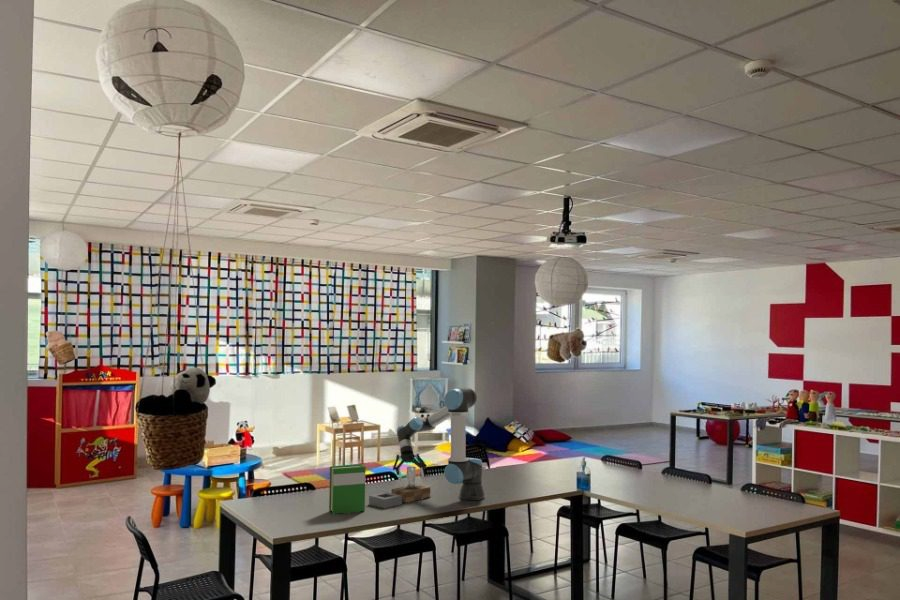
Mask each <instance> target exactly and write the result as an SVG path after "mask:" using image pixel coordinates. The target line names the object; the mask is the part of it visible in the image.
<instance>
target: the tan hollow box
mask: <svg viewBox="0 0 900 600" xmlns="http://www.w3.org/2000/svg"><path fill="white" fill-rule="evenodd" d="M391 493H392V494H396V495H401V496H402V503H403V502H408V503H411V502H410V501H412V502H415V501H414V500H417V501H419V500H418V499H421V500H423V499H422V498H426V497H430V498H431V486H426V485H421V484H416V483H415V489H412V490H410V489H407V485H404V486H401V487H396V488H395V487H394V488H391ZM426 499H427V498H426Z"/></svg>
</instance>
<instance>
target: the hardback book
mask: <svg viewBox="0 0 900 600" xmlns="http://www.w3.org/2000/svg"><path fill="white" fill-rule="evenodd" d="M328 500H329V503H328V504H329V505H328V507H329V509H328V512H329V511H332V512H331V515H332V514H336V515H338V514H337V513H346V514H350V513H349V512H356V513H361V512H360V511H365V512H366V507H365V506H366V466H365V465H363V464H345V465H334V466H329V499H328Z"/></svg>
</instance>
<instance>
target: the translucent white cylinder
mask: <svg viewBox="0 0 900 600" xmlns="http://www.w3.org/2000/svg"><path fill="white" fill-rule="evenodd" d="M416 470H417V469H416V466H407V467H406V486H407V489H410V490H412V489H415V484H416Z"/></svg>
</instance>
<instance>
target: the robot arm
mask: <svg viewBox="0 0 900 600" xmlns="http://www.w3.org/2000/svg"><path fill="white" fill-rule="evenodd" d="M477 399H478V396H477V394H476V392H475V390H473V389H472V388H470V387H462V388H453V389H450V390H448V391H447V392H446V393H445V395H444V400H443V401H444V406H443V407H441V408H439V410H437V411H435V412H434V413H432V414H430V415H428V416H427V417H425V418H420V417H418V416H414V417H413V418H411V419H410V420H409V421H408V423H407V424H405V425H404V424H403V425H400V426H398V427H397V429H396V435H397V441H398V446H399V451H400V455H399V454H396V456H395V462H394V464H393V466H392V470H393V471H395V472H396V476H398V481H402V474H401V467H402V466H403V464H405V463H406V464H407V463H411V464H414V465H415V466H417V467H418V468H419V469H420V476H421V479H422V480H424V478H425V469H427V464H426V462H425V461H424V460H423V459H422V458H421V457H420V454H419V453H416V454H414V449H413V445H412V440H411V438H412V437H414V435H415V434H417V433H421V432H431V431H433V430H435V429H436V427H438V425H440V424H442V423H443V422H446V421H447V420H449V419H450V457H449V458H448V460H447V465H446V466H445V468H444V477H445V479H446V480H447V481H448V483H450V484H451V485H460V484H461V487H460V492H459V495H458V496H459V497H458V498H459V499H461V500H465V501H480V500H484V499H485V498H486V494H485V492H484V487H483V461H482V459H480V458H473V457H466V456H467V455H466V451H467V450H466V442H467V440H466V435H467V434H466V429H467V428H466V427H467V426H466V420H467V419H466V415H467V414H468V413H469V409H470V408H472V407H474V406H475V405H476V403H477V402H478V401H477ZM400 459H401V461H400V462H399V460H400ZM398 462H399V463H398ZM397 464H398V465H397Z"/></svg>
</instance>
